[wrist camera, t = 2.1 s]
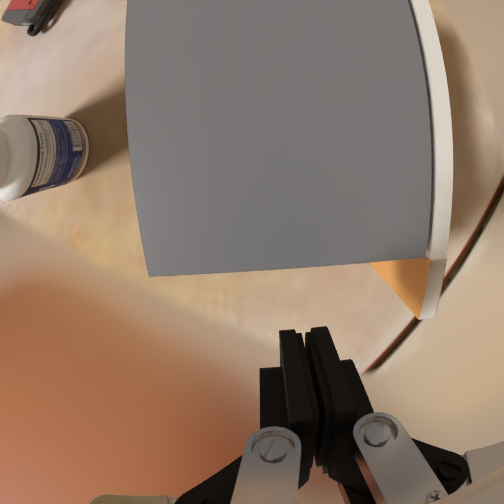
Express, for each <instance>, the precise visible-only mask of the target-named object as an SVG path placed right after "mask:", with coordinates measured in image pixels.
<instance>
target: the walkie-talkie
mask: <svg viewBox="0 0 504 504" xmlns="http://www.w3.org/2000/svg"><path fill="white" fill-rule="evenodd" d="M61 1H62V0H12V1H11V2H10V4H9V5H8V7H7V9H6V11H5V12H4V14H3V17H2V20H1V21H4V22H7V23H10V24H13V25H18V26H29V28H28V30H27V34H28V35H30V36H32V37H33V36H36V35H37V34H38V33H39V32H40V31H41V29H42V28H43V26H44V25H45V24H47V23H48V22H49V20H50V18H51V17H52V15H53V13H55V10H56V8H58V5H59V4H60V3H61ZM35 27H36V28H35ZM34 28H35V29H34Z"/></svg>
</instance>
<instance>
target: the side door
mask: <svg viewBox="0 0 504 504" xmlns="http://www.w3.org/2000/svg"><path fill="white" fill-rule="evenodd" d="M408 3H409V6H410V10H411V13H412V17H413V21H414V25H415V29H416V33H417V37H418V42H419V47H420V52H421V57H422V63H423V68H424V75H425V82H426V89H427V97H428V107H429V118H430V133H431V206H430V221H429V233H428V243H427V251H426V258H415V259H404V260H393V261H382V262H370V263H369V264H370V265H371V266H372V267H373V268H374V269H375V270H376V271H377V272H378V274H379V275H380V276H381V277H382V278H383V279H384V280H385V281H386V282H387V284H388V285H389V286H390V287H391V288H392V289H393V290H394V291H395V293H396V294H397V295H398V296H399V297H400V298H401V300H402V301H403V302H404V303H405V304H406V305H407V307H408V308H409V309H410V310H411V311H412V312H413V314H414V315H415V316H416V317H417V318H418V320H420V319H425V318H430V317H435V315H436V311H437V307H438V303H439V298H440V293H441V289H442V284H443V278H444V273H445V267H446V260H447V259H446V256H447V248H448V241H449V232H450V222H451V210H452V193H453V139H452V122H451V110H450V101H449V92H448V85H447V78H446V72H445V66H444V61H443V56H442V51H441V46H440V42H439V37H438V33H437V29H436V25H435V22H434V18H433V15H432V11H431V8H430V5H429V2H428V0H408Z"/></svg>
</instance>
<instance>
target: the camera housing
mask: <svg viewBox="0 0 504 504" xmlns="http://www.w3.org/2000/svg"><path fill="white" fill-rule="evenodd" d="M125 98H126V118H127V132H128V144H129V155H130V164H131V173H132V181H133V189H134V196H135V203H136V210H137V216H138V222H139V228H140V234H141V240H142V245H143V250H144V255H145V260H146V265H147V270H148V275H149V277H155V276H176V275H195V274H213V273H230V272H247V271H262V270H277V269H292V268H306V267H319V266H333V265H345V264H358V263H370V262H382V261H393V260H404V259H415V258H426V251H427V243H428V233H429V221H430V206H431V133H430V118H429V107H428V97H427V89H426V82H425V75H424V68H423V63H422V57H421V52H420V47H419V42H418V37H417V33H416V29H415V25H414V21H413V17H412V13H411V10H410V6H409V3H408V0H127V12H126V30H125Z"/></svg>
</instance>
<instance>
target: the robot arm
mask: <svg viewBox="0 0 504 504" xmlns="http://www.w3.org/2000/svg"><path fill="white" fill-rule="evenodd" d="M279 340H280V367H271V368H260V430H258V431H257V432H254V433H253V434H252V435H251V436H250V437H249V438H248V440H247V442H246V444H245V448H244V452H243V455H242V456H241V457H239V458H238V459H236V460H235V461H234V462H232V463H230V464H229V465H228V466H226V467H225V468H223V469H222V470H220V471H219V472H217V473H216V474H214V475H213V476H211V477H210V478H208V479H207V480H205V481H204V482H202V483H201V484H199V485H197V486H196V487H194V488H192V489H191V490H189V491H187V492H186V493H184V494H183V495H182V496H180V497H169V498H168V497H167V496H166V495H162V496H127V495H126V496H125V495H100V496H98V497H96V498H94V500H93V501H92V502H91V503H90V504H296V502H297V493H298V490H299V489H300V488H301V487H302V486H303V485H304V484H305V483H306V482H307V481H308V480H309V474H310V468H311V467H312V464H313V458H314V456H315V462H316V466H317V467H318V466H322V469H323V474H325V473H328V474H329V477H330V478H332V479H333V480H335V481H337V485H338V488H339V491H340V493H341V496H342V498H343V500H344V503H345V504H504V441H503V442H500V443H497V444H494V445H490V446H486V447H483V448H480V449H475V450H471V451H467V452H465V454H464V455H459V454H456V453H454V452H451V451H447V450H444V449H441V448H438V447H435V446H432V445H429V444H426V443H424V442H421V441H418V440H415V439H413V438H411V437H410V436H409V434H408V433H407V431H406V430H405V428H404V427H403V425H402V424H401V422H400V421H399V420H398V419H397V418H395V417H394V416H392V415H390V414H386V413H374V411H373V408H372V406H371V404H370V401H369V398H368V396H367V393H366V391H365V389H364V386H363V384H362V381H361V379H360V376H359V374H358V372H357V369H356V367H355V365H354V362H353V361H352V360H351V359H348V360H341V361H340V359H339V356H338V353H337V351H336V348H335V346H334V343H333V340H332V338H331V335H330V332H329V330H328V328H327V326H324V327H315V328H311V332H306V333H305V346H304V342H303V338H302V334H301V333H296V332H295V329H292V330H279Z"/></svg>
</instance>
